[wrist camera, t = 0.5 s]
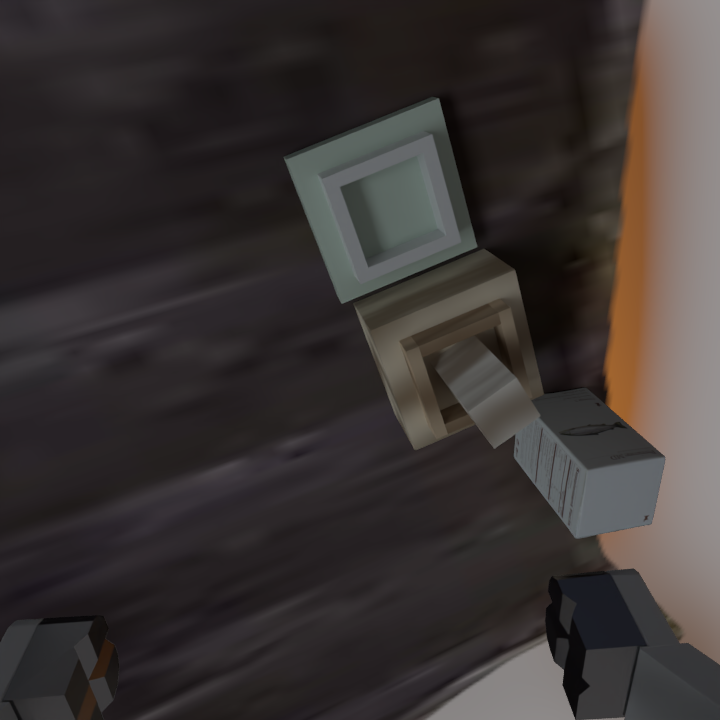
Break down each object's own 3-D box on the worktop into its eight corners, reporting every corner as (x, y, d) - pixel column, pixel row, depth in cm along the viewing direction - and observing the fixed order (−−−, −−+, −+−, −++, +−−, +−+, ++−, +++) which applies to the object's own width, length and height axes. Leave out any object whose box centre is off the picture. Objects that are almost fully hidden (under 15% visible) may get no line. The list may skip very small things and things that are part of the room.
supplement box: (586, 384, 63) (670, 455, 52) (577, 448, 67) (654, 527, 56) (517, 394, 62) (588, 469, 51) (510, 458, 65) (575, 542, 54)
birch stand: (353, 303, 54) (377, 341, 47) (483, 248, 55) (527, 278, 48) (395, 415, 60) (422, 464, 53) (513, 364, 60) (555, 405, 53)
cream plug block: (430, 362, 51) (468, 411, 44) (471, 332, 51) (516, 377, 44) (454, 395, 53) (494, 448, 46) (494, 366, 53) (540, 415, 46)
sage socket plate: (283, 156, 48) (289, 164, 45) (432, 97, 48) (448, 100, 45) (338, 297, 53) (346, 312, 50) (470, 242, 54) (487, 253, 51)
